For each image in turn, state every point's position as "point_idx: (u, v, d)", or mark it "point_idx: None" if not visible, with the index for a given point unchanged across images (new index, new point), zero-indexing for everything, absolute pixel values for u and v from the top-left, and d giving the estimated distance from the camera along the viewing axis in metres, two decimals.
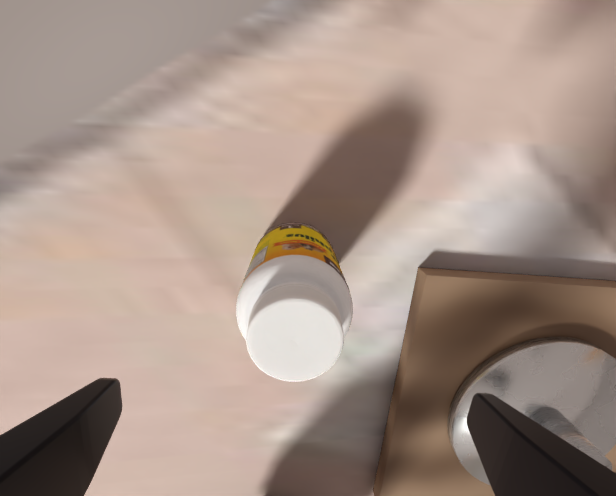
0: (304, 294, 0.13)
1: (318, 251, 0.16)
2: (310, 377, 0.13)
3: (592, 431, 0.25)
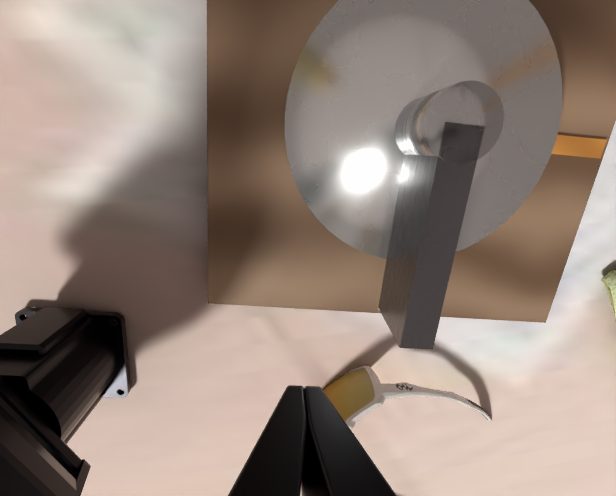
0: None
1: None
2: None
3: (502, 150, 0.17)
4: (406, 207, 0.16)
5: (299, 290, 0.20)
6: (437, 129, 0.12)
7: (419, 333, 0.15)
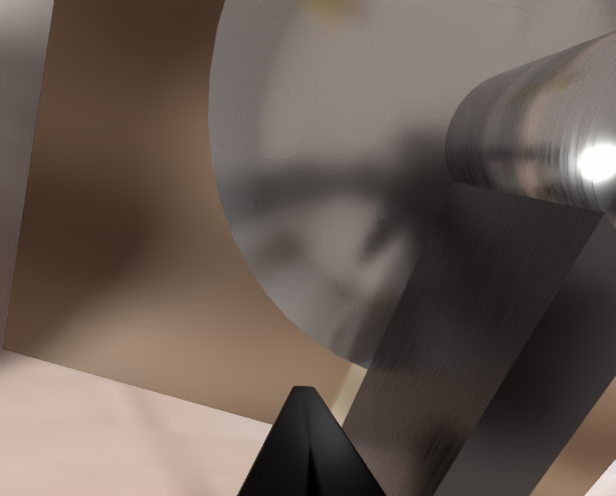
0: None
1: None
2: None
3: None
4: (439, 298, 0.07)
5: (186, 369, 0.11)
6: None
7: None
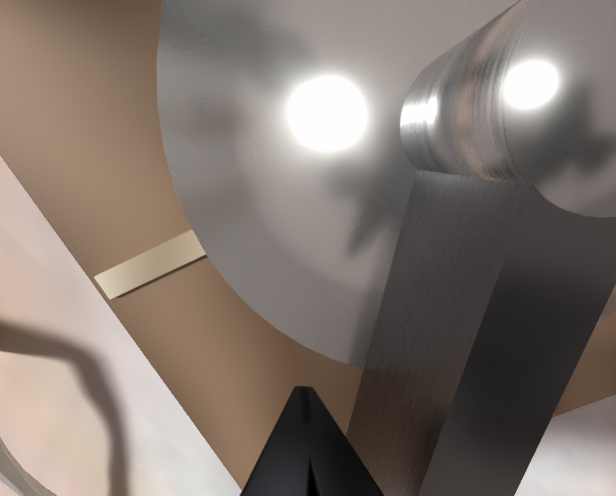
0: None
1: None
2: None
3: None
4: (412, 290, 0.07)
5: (8, 90, 0.08)
6: (543, 95, 0.04)
7: None
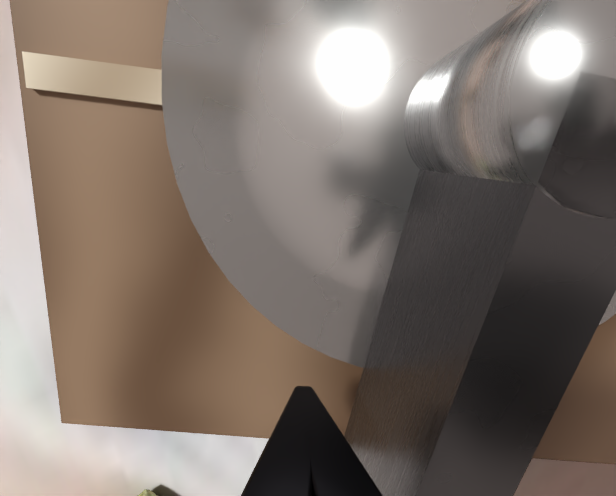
0: None
1: None
2: None
3: None
4: (413, 289, 0.07)
5: None
6: (550, 95, 0.04)
7: None
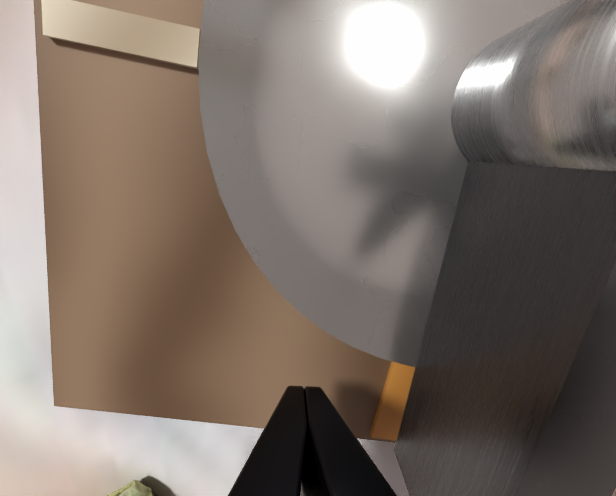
0: None
1: None
2: None
3: None
4: (478, 285, 0.07)
5: None
6: None
7: None
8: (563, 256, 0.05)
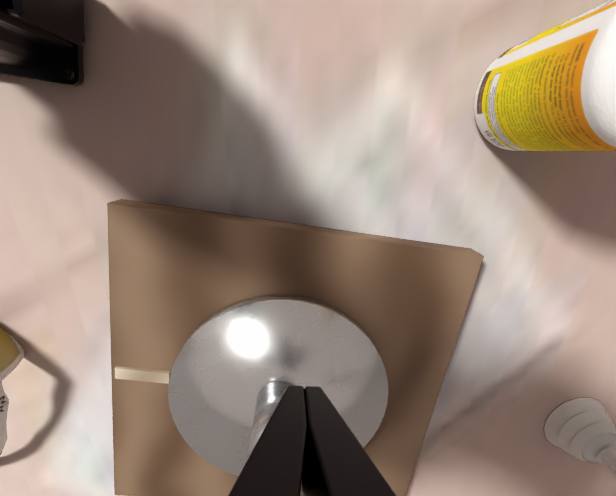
0: None
1: None
2: None
3: (345, 411, 0.21)
4: None
5: (130, 296, 0.19)
6: None
7: None
8: None
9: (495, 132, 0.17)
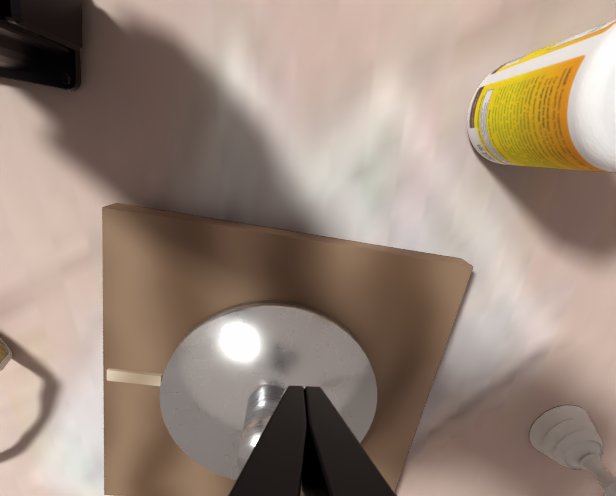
0: None
1: None
2: None
3: None
4: None
5: (124, 300, 0.19)
6: None
7: None
8: None
9: (486, 146, 0.17)
